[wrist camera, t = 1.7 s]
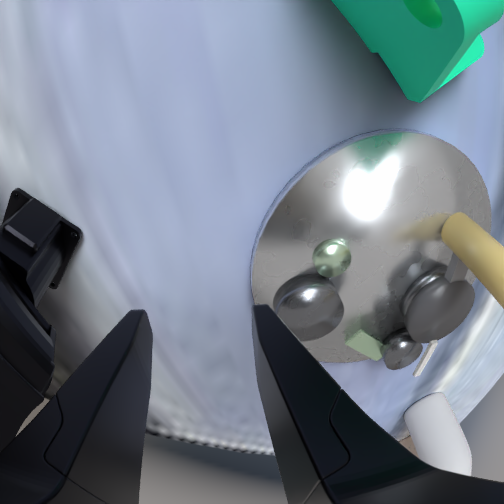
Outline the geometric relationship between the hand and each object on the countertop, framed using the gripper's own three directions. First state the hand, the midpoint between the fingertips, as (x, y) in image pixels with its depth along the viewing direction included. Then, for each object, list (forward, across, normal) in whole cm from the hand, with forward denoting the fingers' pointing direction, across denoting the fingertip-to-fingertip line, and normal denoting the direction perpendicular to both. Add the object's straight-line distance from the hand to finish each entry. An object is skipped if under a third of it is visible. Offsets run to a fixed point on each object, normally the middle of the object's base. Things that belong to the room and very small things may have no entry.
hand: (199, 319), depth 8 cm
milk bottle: (+13, -30, +37) cm, 50 cm away
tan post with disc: (+11, -19, +11) cm, 24 cm away
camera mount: (+13, -11, -12) cm, 21 cm away
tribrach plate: (+13, -14, +8) cm, 20 cm away
